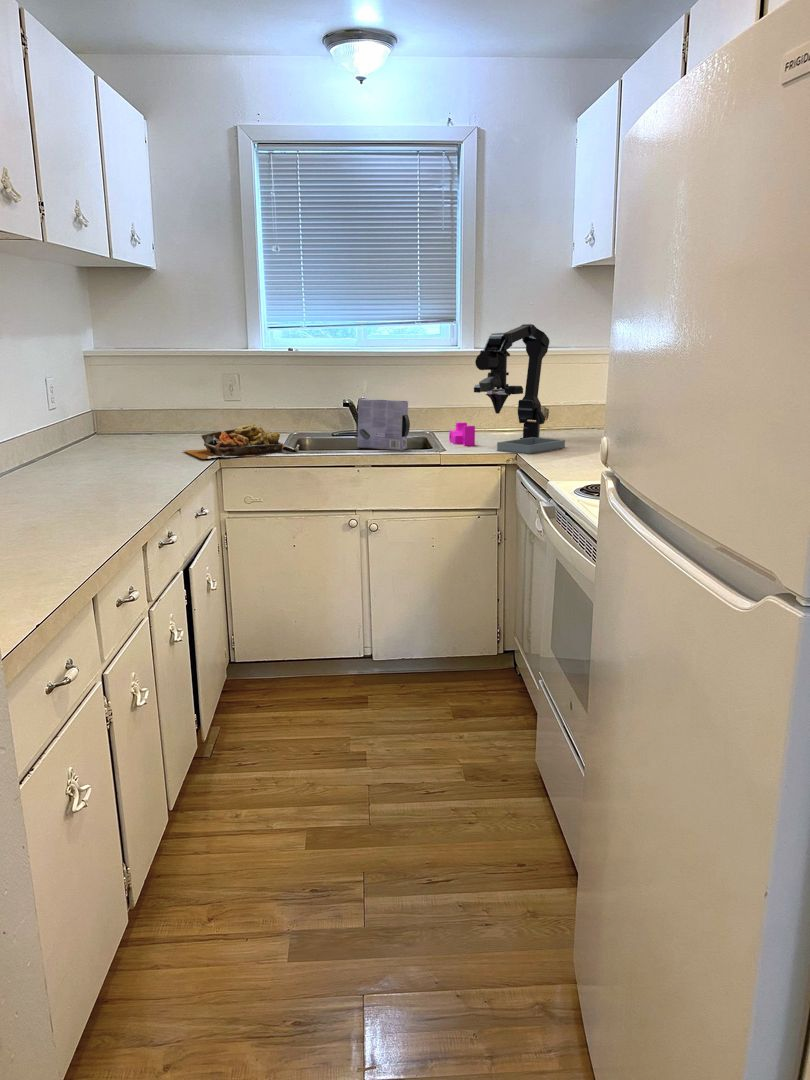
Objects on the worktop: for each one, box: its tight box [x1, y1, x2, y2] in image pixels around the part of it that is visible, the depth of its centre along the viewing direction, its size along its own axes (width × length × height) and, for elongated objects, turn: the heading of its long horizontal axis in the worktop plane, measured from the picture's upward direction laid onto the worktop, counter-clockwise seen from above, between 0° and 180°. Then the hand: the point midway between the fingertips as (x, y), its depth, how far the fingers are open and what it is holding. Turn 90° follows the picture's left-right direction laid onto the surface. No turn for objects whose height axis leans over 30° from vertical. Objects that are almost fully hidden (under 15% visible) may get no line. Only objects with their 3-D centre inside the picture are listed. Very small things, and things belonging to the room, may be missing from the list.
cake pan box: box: [357, 398, 411, 451], centre depth 287 cm, size 19×5×18 cm, turn 65°
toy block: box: [448, 421, 476, 447], centre depth 302 cm, size 15×6×8 cm, turn 10°
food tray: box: [184, 423, 300, 460], centre depth 282 cm, size 35×26×11 cm
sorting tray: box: [496, 437, 566, 455], centre depth 284 cm, size 21×14×3 cm, turn 135°
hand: (497, 413), depth 291 cm, fingers closed
